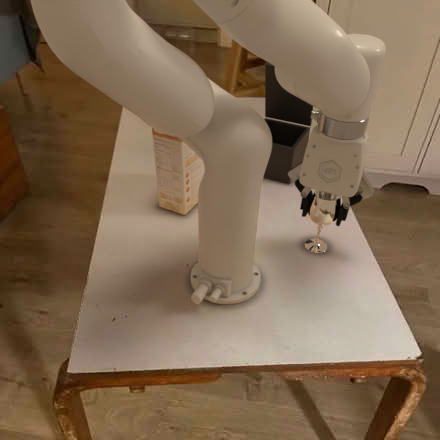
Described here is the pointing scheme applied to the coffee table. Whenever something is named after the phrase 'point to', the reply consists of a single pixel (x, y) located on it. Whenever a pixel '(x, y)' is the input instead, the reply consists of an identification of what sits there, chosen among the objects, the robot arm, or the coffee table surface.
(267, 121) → the trash bin
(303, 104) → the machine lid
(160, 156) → the coffeecake box
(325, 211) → the wineglass
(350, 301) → the coffee table surface
